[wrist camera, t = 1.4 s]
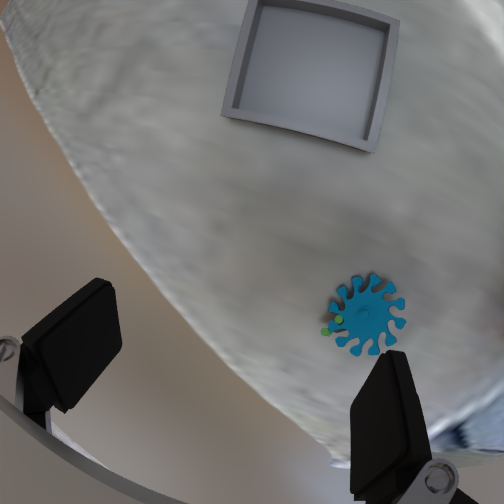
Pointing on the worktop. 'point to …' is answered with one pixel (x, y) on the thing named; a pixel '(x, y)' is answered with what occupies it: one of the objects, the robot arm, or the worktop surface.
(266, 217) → the worktop surface
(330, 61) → the tray
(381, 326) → the gear
